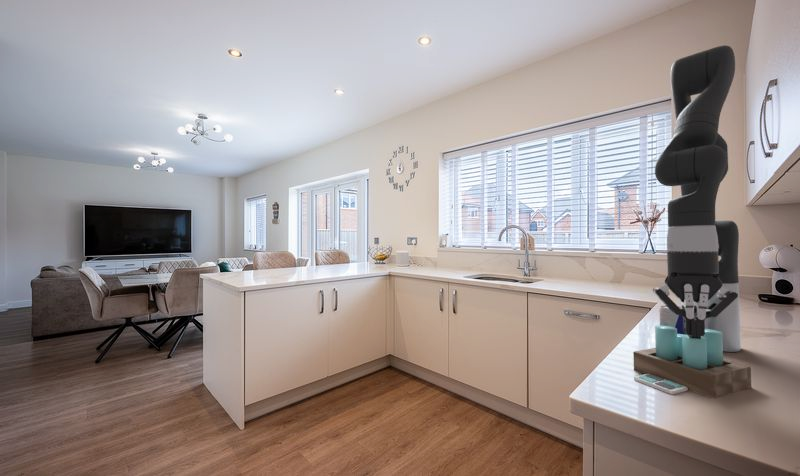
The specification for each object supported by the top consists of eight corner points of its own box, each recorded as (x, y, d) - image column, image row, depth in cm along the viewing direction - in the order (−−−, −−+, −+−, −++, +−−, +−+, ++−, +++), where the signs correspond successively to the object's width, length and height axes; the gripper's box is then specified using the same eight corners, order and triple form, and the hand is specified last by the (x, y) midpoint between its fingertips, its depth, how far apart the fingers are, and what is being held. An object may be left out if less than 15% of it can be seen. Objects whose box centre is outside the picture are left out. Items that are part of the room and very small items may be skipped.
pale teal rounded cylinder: (663, 359, 71) (662, 324, 71) (682, 365, 68) (681, 329, 68) (651, 361, 70) (651, 326, 70) (670, 367, 66) (669, 330, 66)
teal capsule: (678, 366, 73) (677, 332, 73) (697, 372, 69) (696, 337, 69) (667, 368, 71) (666, 334, 71) (686, 375, 68) (685, 339, 68)
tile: (648, 376, 68) (648, 372, 68) (687, 390, 62) (687, 386, 62) (633, 379, 67) (633, 375, 67) (672, 394, 60) (672, 390, 60)
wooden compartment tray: (670, 362, 76) (669, 345, 76) (751, 387, 62) (750, 366, 63) (633, 369, 72) (633, 351, 72) (712, 398, 58) (711, 376, 59)
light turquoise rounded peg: (690, 370, 66) (689, 333, 66) (712, 377, 63) (710, 338, 63) (678, 373, 65) (677, 335, 65) (700, 380, 62) (699, 340, 62)
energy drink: (695, 361, 76) (693, 310, 76) (668, 360, 77) (667, 309, 77) (680, 353, 81) (679, 305, 81) (655, 352, 82) (654, 305, 83)
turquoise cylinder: (705, 364, 68) (704, 328, 68) (727, 370, 64) (726, 332, 65) (694, 366, 67) (693, 329, 67) (716, 373, 63) (715, 334, 63)
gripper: (727, 248, 65) (729, 336, 64) (645, 249, 70) (647, 329, 70) (747, 249, 58) (750, 347, 58) (655, 249, 64) (657, 338, 63)
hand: (694, 337), depth 64 cm, fingers closed
